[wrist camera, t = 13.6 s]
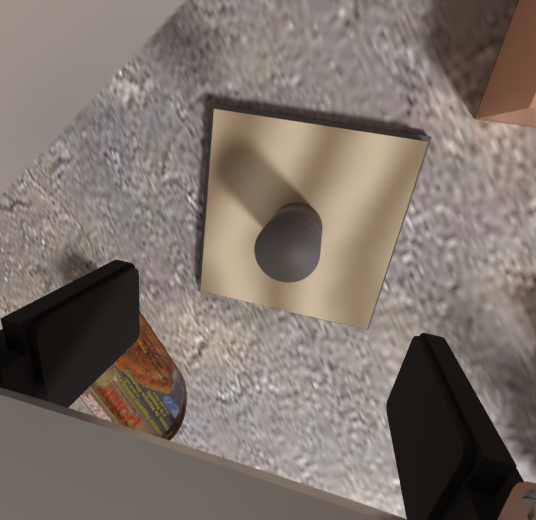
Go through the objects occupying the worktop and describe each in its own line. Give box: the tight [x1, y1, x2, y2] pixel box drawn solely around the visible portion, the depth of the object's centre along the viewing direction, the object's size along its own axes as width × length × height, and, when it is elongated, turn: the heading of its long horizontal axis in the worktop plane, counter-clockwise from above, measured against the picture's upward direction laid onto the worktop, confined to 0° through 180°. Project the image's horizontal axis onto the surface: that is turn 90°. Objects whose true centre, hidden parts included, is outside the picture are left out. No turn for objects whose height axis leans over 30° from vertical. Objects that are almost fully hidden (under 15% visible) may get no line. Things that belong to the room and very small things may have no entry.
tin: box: [80, 313, 187, 440], centre depth 29 cm, size 15×3×8 cm, turn 27°
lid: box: [200, 109, 428, 329], centre depth 21 cm, size 15×15×7 cm
